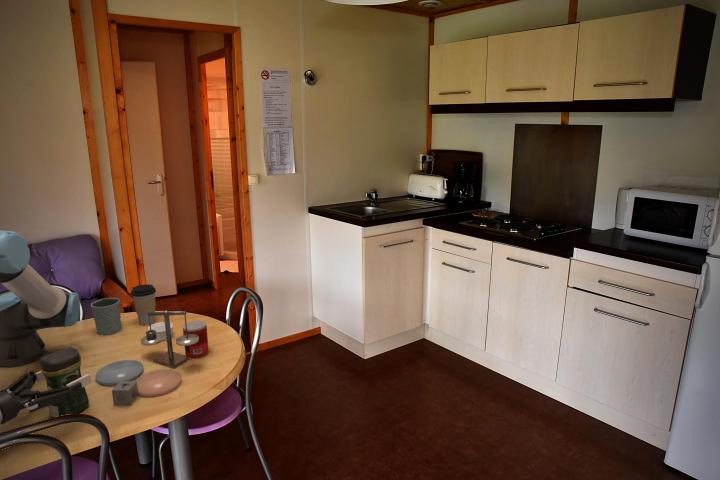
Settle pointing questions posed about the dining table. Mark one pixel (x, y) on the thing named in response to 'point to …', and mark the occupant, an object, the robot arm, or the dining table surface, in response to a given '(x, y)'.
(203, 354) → the canned food
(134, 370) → the slate dish
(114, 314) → the grey-green ceramic planter
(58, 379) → the coffee jar
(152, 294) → the coffee cup
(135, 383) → the dice cube
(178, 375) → the terracotta dish
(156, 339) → the balance
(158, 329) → the ramekin
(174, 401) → the dining table surface
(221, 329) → the dining table surface
